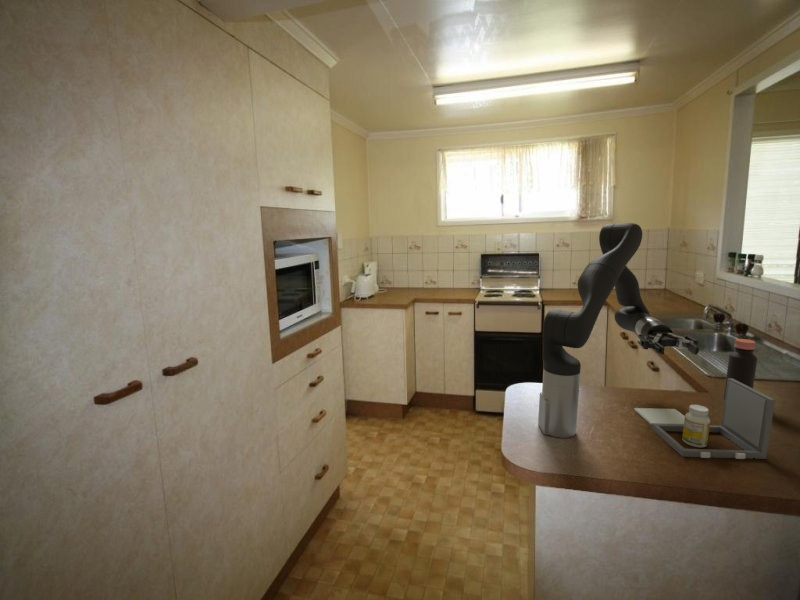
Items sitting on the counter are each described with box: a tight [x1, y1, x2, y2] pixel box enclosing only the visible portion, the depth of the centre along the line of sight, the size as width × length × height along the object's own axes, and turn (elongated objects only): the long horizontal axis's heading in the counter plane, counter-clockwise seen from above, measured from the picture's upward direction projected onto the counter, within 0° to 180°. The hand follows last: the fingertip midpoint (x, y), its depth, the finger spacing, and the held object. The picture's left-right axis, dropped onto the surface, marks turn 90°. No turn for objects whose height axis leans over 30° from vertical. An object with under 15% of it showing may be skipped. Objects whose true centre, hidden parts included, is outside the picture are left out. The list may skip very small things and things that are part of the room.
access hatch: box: [651, 378, 776, 460], centre depth 107 cm, size 19×15×15 cm
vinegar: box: [723, 338, 758, 401], centre depth 131 cm, size 7×7×20 cm
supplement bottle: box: [681, 404, 711, 448], centre depth 107 cm, size 5×5×10 cm
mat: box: [633, 407, 685, 426], centre depth 122 cm, size 12×10×1 cm
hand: (679, 351), depth 115 cm, fingers open, 8 cm apart
